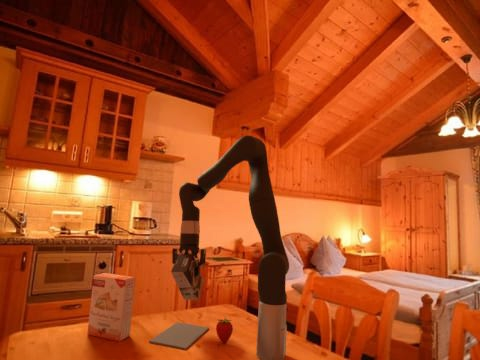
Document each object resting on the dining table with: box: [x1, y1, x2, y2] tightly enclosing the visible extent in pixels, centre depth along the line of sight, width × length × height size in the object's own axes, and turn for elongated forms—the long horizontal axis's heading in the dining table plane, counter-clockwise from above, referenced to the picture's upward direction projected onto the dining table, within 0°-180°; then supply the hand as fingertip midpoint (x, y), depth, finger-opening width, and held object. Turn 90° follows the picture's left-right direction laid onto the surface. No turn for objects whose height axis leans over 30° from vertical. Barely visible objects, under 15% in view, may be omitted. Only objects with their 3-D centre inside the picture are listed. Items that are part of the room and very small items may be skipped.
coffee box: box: [170, 253, 205, 301], centre depth 117 cm, size 9×6×16 cm
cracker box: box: [87, 272, 136, 342], centre depth 108 cm, size 14×6×21 cm, turn 73°
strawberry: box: [215, 315, 234, 346], centre depth 106 cm, size 6×8×10 cm
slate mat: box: [148, 321, 210, 351], centre depth 111 cm, size 14×20×1 cm
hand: (187, 276), depth 117 cm, fingers closed on coffee box, 7 cm apart
